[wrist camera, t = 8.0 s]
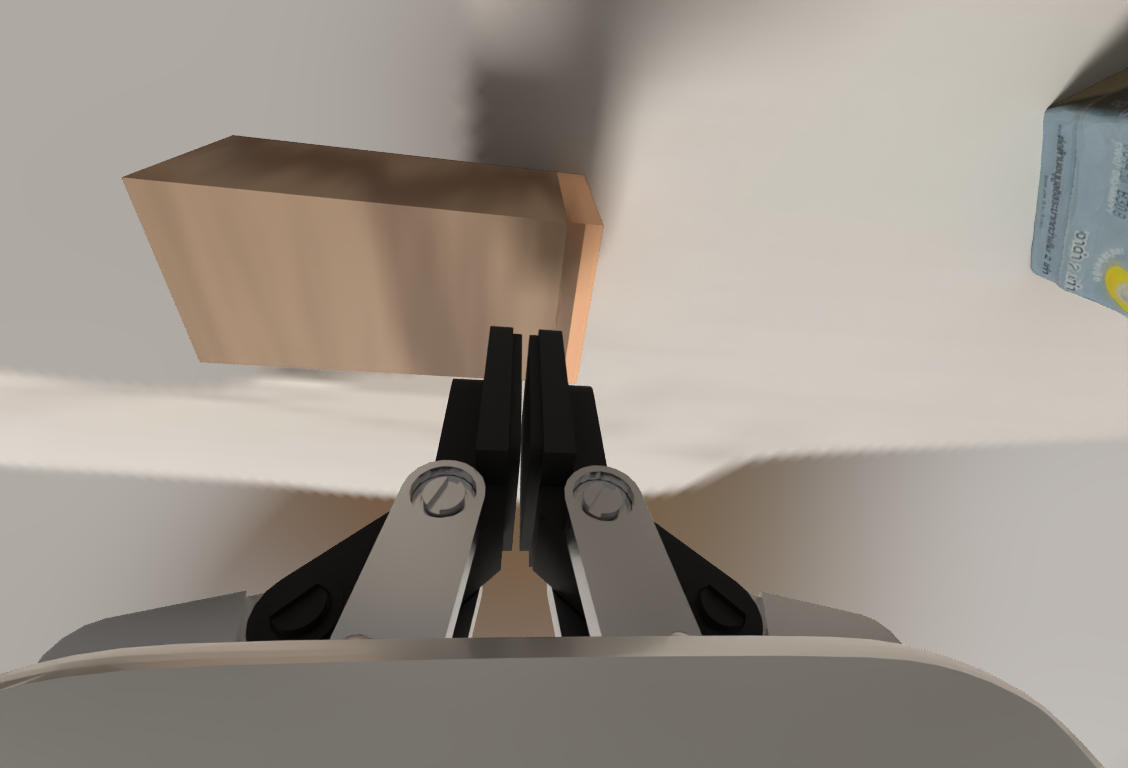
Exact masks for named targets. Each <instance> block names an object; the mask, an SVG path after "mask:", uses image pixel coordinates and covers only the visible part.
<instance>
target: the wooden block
mask: <svg viewBox="0 0 1128 768" xmlns="http://www.w3.org/2000/svg"><path fill="white" fill-rule="evenodd" d="M122 180H123V182H124V184H125V187H126V189H127V191H128V194H129V196H130V198H131V200H132V203H133V205H134V208H135V210H136V213H137V215H138V217H139V220H140V222H141V224H142V226H143V229H144V231H145V234H146V236H147V239H148V241H149V243H150V246H151V248H152V250H153V253H154V255H155V257H156V260H157V262H158V264H159V267H160V269H161V271H162V274H163V276H164V278H165V281H166V283H167V286H168V288H169V290H170V293H171V295H172V297H173V300H174V302H175V305H176V307H177V309H178V311H179V314H180V316H181V318H182V321H183V323H184V326H185V328H186V330H187V333H188V335H189V338H190V340H191V342H192V345H193V347H194V349H195V351H196V354H197V356H198V359H199V361H200V362H206V363H224V364H241V365H259V366H276V367H294V368H312V369H329V370H347V371H365V372H383V373H400V374H418V375H436V376H454V377H471V378H484V374H485V365H486V357H487V349H488V340H489V332H490V326H501V327H513V334H522V380H525V378H526V367H527V356H528V344H529V335H538V331H539V329H543V330H557V331H562V334H563V343H564V351H565V360H566V368H567V377H568V383H577V378H578V372H579V366H580V360H581V355H582V349H583V343H584V337H585V331H586V326H587V320H588V314H589V308H590V302H591V296H592V291H593V285H594V279H595V273H596V267H597V262H598V256H599V250H600V244H601V238H602V233H603V227H604V225H603V223H602V220H601V218H600V215H599V212H598V210H597V207H596V205H595V202H594V200H593V197H592V195H591V192H590V189H589V187H588V184H587V182H586V179H585V177H584V175H578V174H569V173H561V172H552V171H543V170H534V169H525V168H516V167H508V166H499V165H490V164H481V163H472V162H465V161H456V160H446V159H438V158H429V157H420V156H412V155H403V154H394V153H385V152H376V151H368V150H359V149H350V148H341V147H331V146H324V145H314V144H306V143H297V142H288V141H280V140H271V139H261V138H252V137H243V136H235V135H232V136H230V137H227V138H225V139H222V140H219V141H217V142H214V143H211V144H209V145H206V146H203V147H201V148H198V149H195V150H193V151H190V152H187V153H185V154H182V155H180V156H177V157H174V158H172V159H169V160H166V161H164V162H161V163H158V164H156V165H153V166H151V167H148V168H146V169H142V170H140V171H137V172H135V173H132V174H130V175H127V176H124V177H122Z"/></svg>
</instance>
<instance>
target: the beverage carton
mask: <svg viewBox="0 0 1128 768" xmlns="http://www.w3.org/2000/svg"><path fill="white" fill-rule="evenodd" d="M1031 269H1032V271H1033V272H1034V273H1035V274H1037V275H1039V276H1041V277H1043V278H1046V279H1048V280H1050V281H1052V282H1054V283H1056V284H1057V285H1058V286H1059V287H1061V288H1062V289H1064V290H1066V291H1068V292H1072V293H1075V294H1077V295H1079V296H1081V297H1084V298H1086V299H1089V300H1092V301H1094V302H1097V303H1099V304H1101V305H1104V306H1106V307H1108V308H1111V309H1113V310H1115V311H1117V312H1119V313H1121V314H1122V315H1124V316H1126V317H1128V68H1126V69H1124V70H1123V71H1121V72H1119V73H1117V74H1115V75H1112V76H1110V77H1108V78H1106V79H1104V80H1102V81H1100V82H1098V83H1097V84H1095V85H1093V86H1091V87H1089V88H1087V89H1085V90H1083V91H1081V92H1079V93H1077V94H1075V95H1073V96H1071V97H1069V98H1067V99H1065V100H1063V101H1061V102H1058V103H1056V104H1054V105H1052V106H1050V107H1049V108H1048V109H1047V110H1046V112H1045V115H1044V120H1043V145H1042V158H1041V172H1040V181H1039V188H1038V198H1037V208H1036V216H1035V228H1034V240H1033V244H1032V255H1031Z"/></svg>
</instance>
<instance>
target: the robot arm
mask: <svg viewBox="0 0 1128 768" xmlns="http://www.w3.org/2000/svg"><path fill="white" fill-rule="evenodd" d="M521 400H522V334H513V327H501V326H490V332H489V340H488V349H487V357H486V365H485V374H484V380H468V379H453V381H452V385H451V389H450V394H449V399H448V404H447V409H446V413H445V418H444V423H443V428H442V433H441V437H440V442H439V447H438V452H437V457H436V461H435V462H430V463H428V464H426V465H423V466H421V467H419V468H417V469H416V470H415V471H414V472H412V473H411V474H410V475H409V476H408V477H407V479H406V480H405V482H404V483H403V485H402V487H401V489H400V491H399V493H398V495H397V497H396V500H395V502H394V504H393V506H392V508H391V510H390V511H389V512H388V513H386V514H385V515H383V516H381V517H380V518H378V519H377V520H375V521H373V522H372V523H370V524H369V525H367V526H365V527H364V528H362V529H361V530H359V531H358V532H356V533H354V534H353V535H351V536H350V537H348V538H347V539H345V540H343V541H342V542H340V543H339V544H337V545H335V546H334V547H332V548H331V549H329V550H327V551H326V552H324V553H323V554H321V555H320V556H318V557H316V558H315V559H313V560H312V561H310V562H308V563H307V564H305V565H304V566H302V567H301V568H299V569H297V570H296V571H294V572H293V573H291V574H289V575H288V576H286V577H285V578H283V579H282V580H280V581H279V582H278V583H276V584H275V585H274V586H273V587H271V588H270V589H269V590H267V591H266V592H265V593H263V594H258V595H253V596H249V594H248V592H247V591H242V592H237V593H232V594H227V595H222V596H217V597H212V598H206V599H201V600H196V601H191V602H187V603H181V604H176V605H171V606H166V607H161V608H156V609H151V610H146V611H141V612H136V613H131V614H125V615H121V616H116V617H111V618H106V619H103V620H100V621H97V622H94V623H91V624H88V625H85V626H83V627H81V628H79V629H78V630H76V631H74V632H73V633H71V634H69V635H68V636H66V637H64V638H62V639H61V640H60V641H59V642H58V643H57V644H55V645H54V646H53V647H52V648H51V649H50V650H49V651H47V652H46V653H45V654H44V655H43V656H42V658H41V659H40V660H39V662H38V663H37V664H33V665H30V666H26V667H23V668H19V669H16V670H12V671H9V672H6V673H2V674H0V768H1104V767H1103V766H1102V764H1101V763H1100V762H1099V761H1098V760H1097V759H1096V758H1095V757H1094V756H1093V755H1092V753H1091V752H1090V751H1089V750H1088V749H1087V748H1086V747H1085V746H1084V745H1083V743H1082V742H1081V741H1079V739H1078V738H1077V737H1076V736H1075V735H1074V734H1073V733H1072V732H1071V731H1070V730H1069V729H1068V728H1067V727H1066V726H1065V725H1064V724H1063V723H1062V722H1061V721H1060V720H1058V719H1057V718H1056V717H1055V716H1054V715H1053V714H1052V713H1051V712H1050V711H1048V710H1047V709H1046V708H1045V707H1044V706H1042V705H1041V704H1040V703H1038V702H1037V701H1036V700H1034V699H1033V698H1031V697H1030V696H1029V695H1027V694H1026V693H1024V692H1023V691H1021V690H1019V689H1017V688H1015V687H1014V686H1012V685H1010V684H1008V683H1006V682H1005V681H1003V680H1001V679H999V678H997V677H995V676H993V675H991V674H989V673H986V672H984V671H983V670H981V669H978V668H976V667H973V666H970V665H968V664H965V663H962V662H960V661H957V660H955V659H952V658H949V657H946V656H944V655H941V654H937V653H934V652H931V651H928V650H924V649H920V648H916V647H912V646H908V645H903V644H902V643H901V642H900V641H899V640H898V639H897V638H896V637H895V636H894V635H893V633H892V632H891V631H890V630H888V629H887V628H886V627H884V626H883V625H881V624H880V623H879V622H877V621H876V620H873V619H871V618H868V617H866V616H863V615H860V614H856V613H852V612H847V611H843V610H839V609H834V608H830V607H826V606H821V605H817V604H813V603H809V602H804V601H800V600H796V599H791V598H787V597H783V596H778V595H774V594H770V593H765V592H761V593H760V594H759V595H758V596H754V595H750V594H749V593H748V592H747V591H746V590H745V589H744V588H743V587H741V586H740V585H739V584H738V583H737V582H736V581H734V580H733V579H732V578H730V577H729V576H728V575H726V574H725V573H723V572H722V571H721V570H719V569H718V568H717V567H715V566H714V565H712V564H711V563H710V562H708V561H707V560H706V559H704V558H703V557H701V556H700V555H699V554H697V553H696V552H695V551H693V550H692V549H691V548H689V547H688V546H686V545H685V544H684V543H682V542H681V541H680V540H678V539H677V538H675V537H674V536H673V535H671V534H670V533H669V532H667V531H666V530H664V529H663V528H662V527H660V526H659V525H658V524H656V523H655V522H654V521H653V519H652V517H651V515H650V512H649V510H648V508H647V505H646V503H645V500H644V498H643V496H642V493H641V491H640V490H639V488H638V486H637V485H636V483H635V482H634V481H633V480H632V479H631V478H630V477H629V476H627V475H626V474H624V473H623V472H621V471H619V470H617V469H614V468H611V467H607V464H606V459H605V453H604V448H603V442H602V437H601V431H600V426H599V421H598V415H597V410H596V404H595V399H594V393H593V389H592V387H591V386H573V385H568V377H567V368H566V360H565V351H564V343H563V334H562V331H557V330H543V329H539V331H538V335H529V344H528V356H527V367H526V378H525V389H524V401H523V412H522V424H521ZM520 452H521V477H520V551H529V567H533V570H534V572H536V573H537V574H538V575H539V576H540V577H541V578H542V579H543V580H544V581H545V582H546V583H547V595H548V601H549V606H550V611H551V616H552V622H553V627H554V632H555V637H506V638H505V637H502V638H501V637H500V638H499V637H497V638H472V633H473V629H474V625H475V621H476V616H477V612H478V608H479V603H480V600H481V595H482V585H484V584H485V583H486V582H487V581H488V580H489V579H490V578H492V577H493V576H494V575H495V574H496V573H497V572H498V571H499V570H501V558H502V551H511V550H512V542H513V530H514V520H515V509H516V498H517V487H518V477H519V466H520Z"/></svg>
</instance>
